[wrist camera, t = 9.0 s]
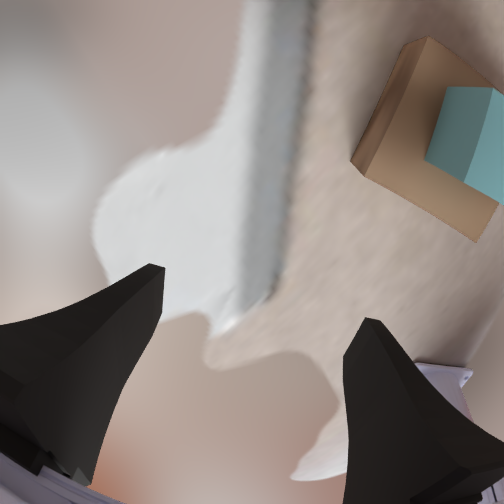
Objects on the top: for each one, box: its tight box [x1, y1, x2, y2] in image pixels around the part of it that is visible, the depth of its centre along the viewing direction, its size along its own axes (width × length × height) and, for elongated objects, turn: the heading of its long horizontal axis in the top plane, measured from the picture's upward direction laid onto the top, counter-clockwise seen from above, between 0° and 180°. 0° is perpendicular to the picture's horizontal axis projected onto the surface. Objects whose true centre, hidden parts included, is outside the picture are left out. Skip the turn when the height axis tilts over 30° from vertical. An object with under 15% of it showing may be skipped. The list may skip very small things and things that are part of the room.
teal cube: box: [424, 87, 504, 205], centre depth 10 cm, size 4×4×4 cm
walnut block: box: [350, 36, 502, 243], centre depth 14 cm, size 8×8×4 cm
